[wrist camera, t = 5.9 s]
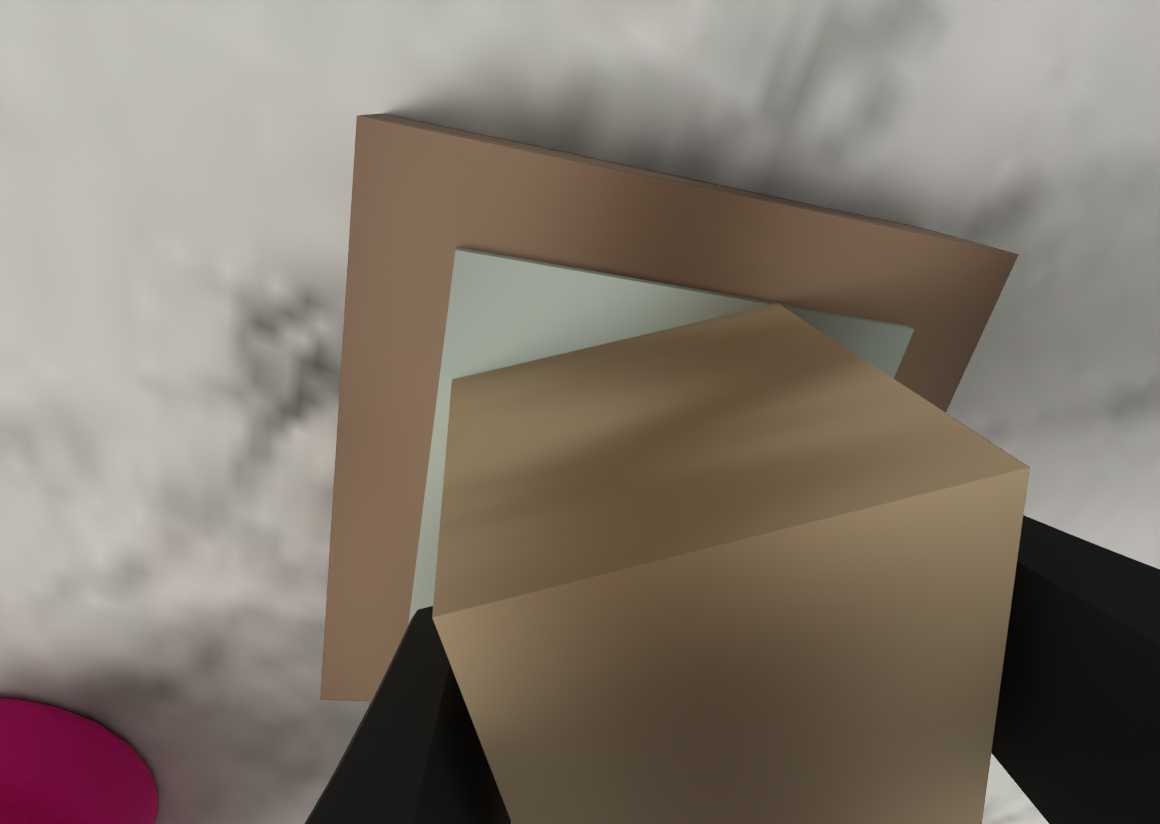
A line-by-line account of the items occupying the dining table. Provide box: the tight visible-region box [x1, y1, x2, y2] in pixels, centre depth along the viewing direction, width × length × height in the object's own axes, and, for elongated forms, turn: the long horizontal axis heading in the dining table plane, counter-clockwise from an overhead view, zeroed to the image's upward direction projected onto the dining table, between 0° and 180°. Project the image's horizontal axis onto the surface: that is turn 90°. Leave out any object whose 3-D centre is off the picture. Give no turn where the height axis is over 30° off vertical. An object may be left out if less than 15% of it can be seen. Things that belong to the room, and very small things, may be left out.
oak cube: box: [432, 303, 1030, 824], centre depth 9 cm, size 5×5×5 cm
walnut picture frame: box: [320, 114, 1018, 701], centre depth 12 cm, size 10×10×3 cm
